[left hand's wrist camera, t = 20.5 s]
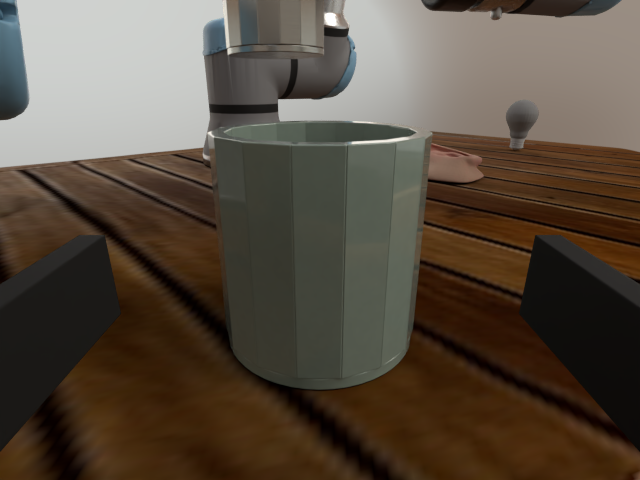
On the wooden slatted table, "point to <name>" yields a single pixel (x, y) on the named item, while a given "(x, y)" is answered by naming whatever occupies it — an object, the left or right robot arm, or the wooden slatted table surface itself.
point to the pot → (319, 245)
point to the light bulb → (521, 121)
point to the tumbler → (274, 28)
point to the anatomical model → (453, 165)
